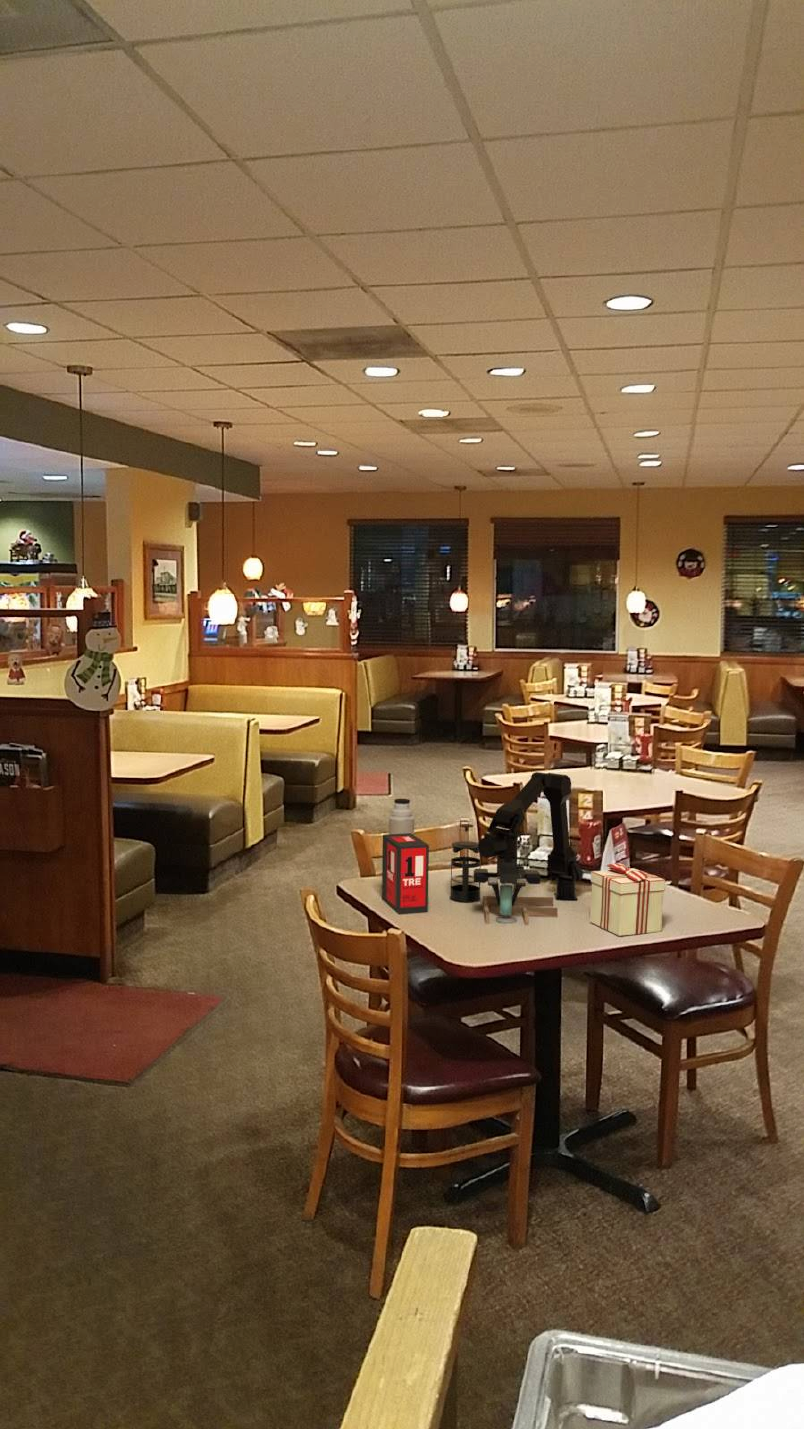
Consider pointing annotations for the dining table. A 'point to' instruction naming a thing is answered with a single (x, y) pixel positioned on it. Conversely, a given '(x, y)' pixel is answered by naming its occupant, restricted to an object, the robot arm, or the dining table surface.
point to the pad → (506, 919)
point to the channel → (526, 911)
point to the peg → (506, 899)
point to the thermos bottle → (401, 818)
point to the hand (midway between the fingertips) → (505, 905)
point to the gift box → (626, 900)
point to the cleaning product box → (405, 873)
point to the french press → (465, 872)
